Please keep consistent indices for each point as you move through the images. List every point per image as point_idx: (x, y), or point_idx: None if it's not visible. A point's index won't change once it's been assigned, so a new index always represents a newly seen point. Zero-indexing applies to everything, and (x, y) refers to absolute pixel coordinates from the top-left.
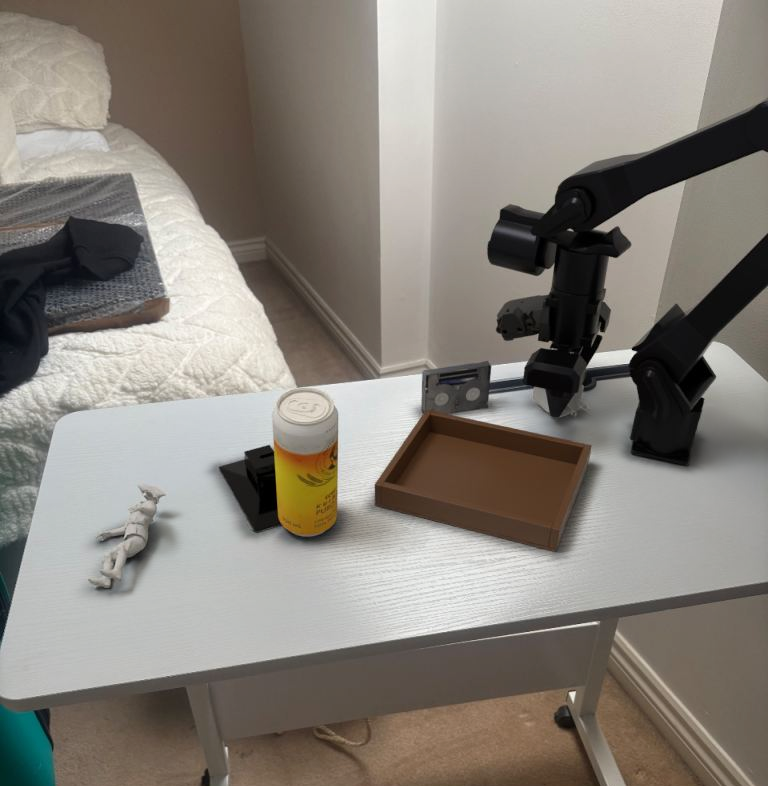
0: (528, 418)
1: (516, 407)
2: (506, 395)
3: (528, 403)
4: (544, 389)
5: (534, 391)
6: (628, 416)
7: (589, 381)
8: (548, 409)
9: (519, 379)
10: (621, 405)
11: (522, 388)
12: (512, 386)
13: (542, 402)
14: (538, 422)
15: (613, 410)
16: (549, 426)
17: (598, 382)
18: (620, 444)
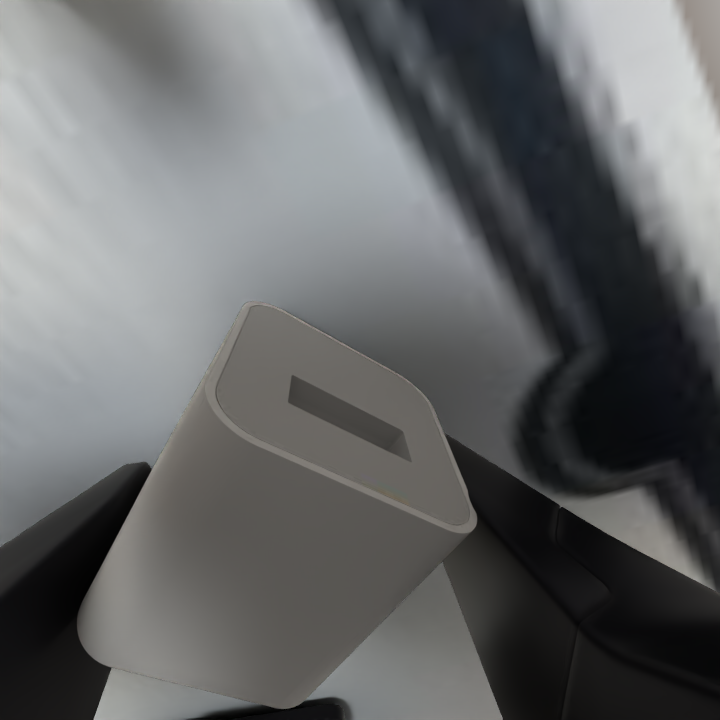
0: (109, 322)
1: (183, 203)
2: (297, 64)
3: (276, 260)
4: (152, 474)
5: (225, 340)
6: (391, 654)
7: (631, 463)
8: (165, 445)
9: (559, 79)
10: (463, 616)
11: (443, 150)
12: (443, 62)
13: (188, 404)
14: (109, 386)
15: (411, 607)
16: (112, 447)
17: (630, 497)
18: (179, 690)
